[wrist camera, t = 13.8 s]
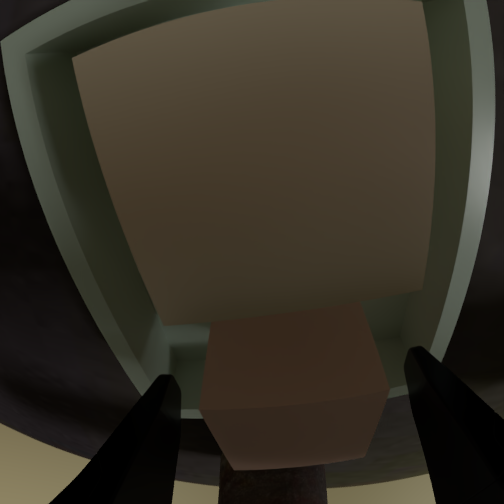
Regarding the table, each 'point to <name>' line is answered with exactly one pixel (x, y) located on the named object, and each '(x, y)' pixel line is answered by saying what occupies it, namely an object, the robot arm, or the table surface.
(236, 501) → the candle
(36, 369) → the table surface
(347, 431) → the coral block
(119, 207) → the maple block
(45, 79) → the sage tub
